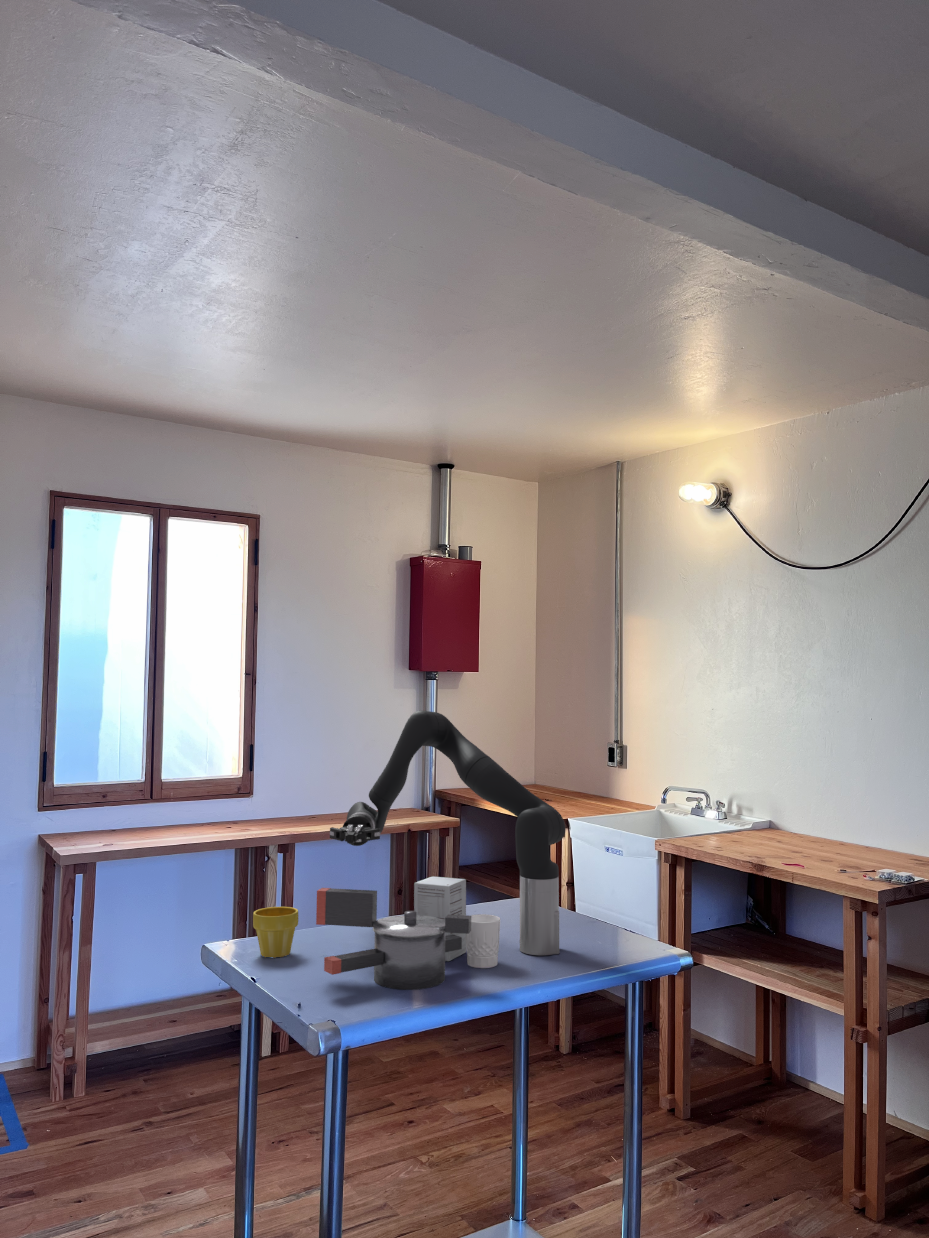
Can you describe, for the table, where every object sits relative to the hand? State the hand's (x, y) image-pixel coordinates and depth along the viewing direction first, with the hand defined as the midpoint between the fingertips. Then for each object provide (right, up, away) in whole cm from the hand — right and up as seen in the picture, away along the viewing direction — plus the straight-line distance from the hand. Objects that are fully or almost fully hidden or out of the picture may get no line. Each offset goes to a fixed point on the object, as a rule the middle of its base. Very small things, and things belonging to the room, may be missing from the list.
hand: (350, 838), depth 215 cm
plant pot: (-17, -26, -5) cm, 31 cm away
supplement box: (+21, -26, -4) cm, 34 cm away
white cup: (+31, -26, -11) cm, 42 cm away
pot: (+12, -24, -24) cm, 36 cm away
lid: (+12, -14, -21) cm, 27 cm away
